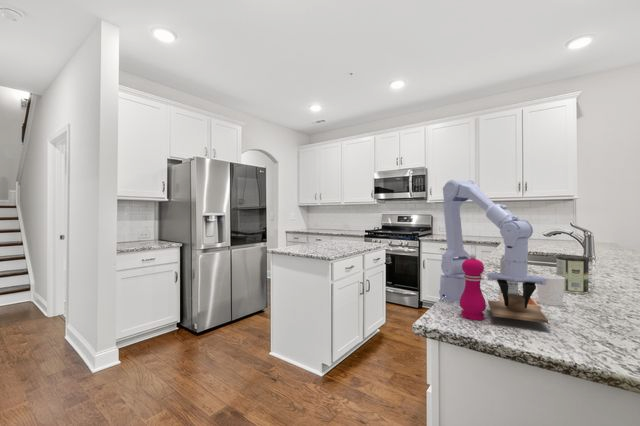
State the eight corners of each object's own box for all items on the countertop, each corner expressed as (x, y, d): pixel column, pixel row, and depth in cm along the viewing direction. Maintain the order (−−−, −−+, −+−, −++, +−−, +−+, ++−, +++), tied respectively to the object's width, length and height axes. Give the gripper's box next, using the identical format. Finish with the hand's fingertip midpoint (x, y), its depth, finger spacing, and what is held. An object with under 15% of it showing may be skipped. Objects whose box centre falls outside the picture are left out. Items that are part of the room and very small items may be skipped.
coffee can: (573, 287, 127) (574, 254, 127) (595, 294, 117) (596, 258, 117) (549, 287, 127) (549, 254, 127) (569, 294, 117) (569, 258, 117)
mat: (490, 326, 85) (490, 324, 85) (486, 311, 98) (486, 309, 98) (551, 335, 80) (551, 332, 80) (538, 317, 92) (538, 315, 92)
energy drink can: (501, 294, 117) (501, 256, 117) (498, 290, 122) (499, 254, 122) (519, 296, 114) (520, 257, 114) (516, 292, 120) (516, 255, 120)
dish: (503, 311, 98) (503, 302, 98) (499, 302, 107) (499, 294, 107) (540, 315, 94) (540, 306, 94) (532, 306, 103) (533, 297, 103)
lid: (492, 316, 86) (492, 299, 86) (488, 302, 97) (488, 288, 97) (548, 323, 80) (548, 305, 80) (536, 308, 92) (536, 292, 92)
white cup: (569, 308, 100) (570, 279, 100) (543, 307, 102) (543, 278, 102) (556, 301, 108) (556, 274, 108) (532, 300, 109) (532, 273, 109)
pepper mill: (475, 324, 87) (476, 256, 87) (454, 316, 93) (454, 253, 93) (491, 320, 90) (491, 254, 90) (469, 312, 97) (469, 251, 96)
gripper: (489, 261, 88) (488, 306, 88) (549, 265, 82) (548, 314, 82) (487, 257, 94) (486, 300, 95) (542, 261, 88) (542, 306, 89)
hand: (515, 306), depth 89 cm, fingers closed on lid, 4 cm apart
